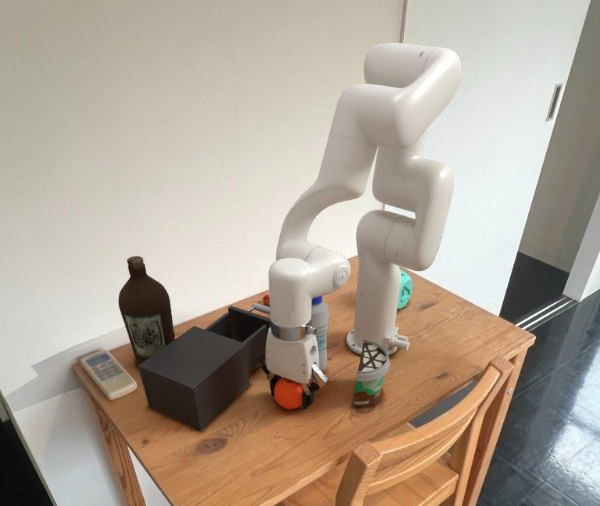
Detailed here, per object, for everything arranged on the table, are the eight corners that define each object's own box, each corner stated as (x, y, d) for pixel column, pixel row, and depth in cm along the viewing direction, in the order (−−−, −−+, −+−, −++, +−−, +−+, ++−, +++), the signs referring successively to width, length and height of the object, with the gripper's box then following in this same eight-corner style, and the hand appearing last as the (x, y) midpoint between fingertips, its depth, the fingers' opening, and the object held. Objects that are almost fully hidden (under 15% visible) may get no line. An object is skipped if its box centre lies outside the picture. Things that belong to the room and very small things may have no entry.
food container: (383, 415, 105) (388, 376, 99) (353, 411, 106) (356, 372, 100) (387, 378, 114) (392, 341, 108) (360, 375, 115) (363, 337, 109)
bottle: (330, 365, 118) (334, 286, 106) (322, 382, 114) (324, 301, 101) (303, 359, 120) (303, 281, 107) (293, 376, 115) (292, 296, 102)
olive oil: (138, 347, 124) (113, 248, 108) (182, 345, 125) (164, 247, 108) (130, 375, 116) (102, 272, 100) (178, 372, 116) (158, 270, 100)
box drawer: (248, 326, 129) (245, 294, 123) (290, 341, 124) (290, 308, 119) (192, 371, 115) (186, 337, 110) (238, 389, 110) (234, 355, 105)
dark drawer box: (200, 365, 118) (194, 325, 111) (249, 385, 113) (246, 344, 106) (148, 407, 107) (138, 365, 100) (200, 431, 102) (193, 388, 95)
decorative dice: (410, 302, 140) (415, 274, 135) (394, 313, 136) (398, 286, 130) (386, 292, 144) (389, 265, 139) (369, 303, 140) (372, 276, 134)
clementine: (276, 390, 112) (274, 364, 107) (308, 391, 111) (308, 364, 107) (273, 415, 105) (271, 388, 101) (307, 416, 105) (307, 389, 101)
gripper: (341, 329, 95) (337, 403, 106) (263, 305, 102) (267, 376, 113) (322, 349, 90) (319, 424, 102) (240, 322, 97) (247, 395, 108)
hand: (291, 398), depth 107 cm, fingers closed on clementine, 7 cm apart
